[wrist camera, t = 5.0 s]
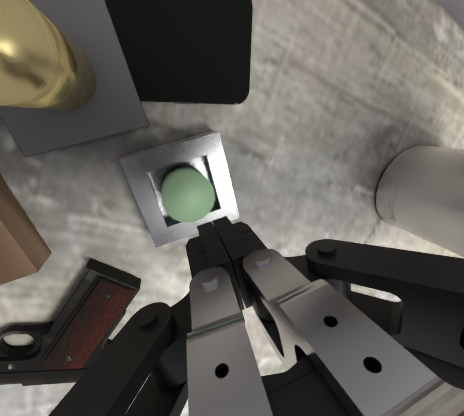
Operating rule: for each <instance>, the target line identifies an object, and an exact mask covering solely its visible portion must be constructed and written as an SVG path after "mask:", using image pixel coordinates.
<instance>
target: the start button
mask: <svg viewBox="0 0 464 416" xmlns="http://www.w3.org/2000/svg"><path fill="white" fill-rule="evenodd" d="M161 196H162V203H163V207H164V209H165V211H166V212H167V214H168V215H169V216H170V217H172V218H173V219H175V220H177V221H180V222H185V223H190V222H195V221H198V220H200V219H202V218H204V217H205V216H206V215H207V214H208V213H209V212H210V211H211V209H212V207H213V205H214V201H215V192H214V189H213V186H212V184H211V183H210V182H209V180H208V179H207V178H206V177H205V176H204V175H203V174H202V173H201V172H200V171H198V170H197V169H194V168H191V167H179V168H176V169H174V170H172V171H171V172H169V173H168V174H167V175H166V176H165V178H164V180H163V182H162V185H161Z"/></svg>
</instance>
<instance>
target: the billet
mask: <svg viewBox="0 0 464 416" xmlns="http://www.w3.org/2000/svg"><path fill="white" fill-rule="evenodd" d="M95 90H96V75H95V71H94V68H93V66H92V64H91V62H90V61H89V59H88V58H87V56H86V55H85V54H84V53H83V52H82V51H81V50H80V49H79V48H78V47H77V46H76V45H75V44H74V43H73V42H72V41H71V40H70V39H69V38H68V37H67V36H66V35H65V34H64V33H63V32H61V31H60V30H59V29H58V28H57V27H56V26H55V25H54V24H53V23H52V22H51V21H50V20H49V19H48V18H47V17H46V16H45V15H44V14H42V13H41V12H40V11H39V10H38V9H37V8H36V7H35V6H34V5H33V4H32V3H31V2H30V1H29V0H0V106H10V107H25V108H40V109H54V110H75V109H78V108H81V107H83V106H85V105H86V104H87V103H88V102H89V101H90V100H91V99H92V97H93V95H94V93H95Z"/></svg>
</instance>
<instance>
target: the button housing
mask: <svg viewBox="0 0 464 416" xmlns="http://www.w3.org/2000/svg"><path fill="white" fill-rule="evenodd" d="M119 162H120V164H121V166H122V169H123V171H124V173H125V176H126V178H127V180H128V183H129V185H130V187H131V190H132V192H133V194H134V197H135V199H136V201H137V204H138V206H139V208H140V211H141V213H142V215H143V218H144V220H145V222H146V225H147V227H148V229H149V232H150V234H151V236H152V239H153V241H154V243H155V246H156V247H158V246H161V245H164V244H167V243H170V242H172V241H175V240H178V239H181V238H184V237H186V236H189V235H192V234H195V233H198V229H197V226H198V225H201V224H204V223H207V222H210V221H211V222H212V221H213V220H216V219H219V218H221V217H224V216H227V217H228V219H229V220H230V221H231V220H234V219H237V218H240V217H239V213H238V209H237V204H236V200H235V196H234V192H233V188H232V183H231V179H230V175H229V171H228V167H227V162H226V158H225V154H224V150H223V146H222V142H221V137H220V133H219V132H217V131H209V132H205V133H202V134H198V135H194V136H191V137H187V138H183V139H180V140H176V141H172V142H169V143H165V144H161V145H158V146H154V147H150V148H147V149H143V150H140V151H136V152H132V153H129V154H125V155H122V156H121V157H120V159H119ZM179 167H191V168H194V169H197V170H198V171H200V172H201V173H202V174H203V175H204V176H205V177H206V178H207V179H208V180H209V182H210V183H211V184H212V186H213V189H214V192H215V201H214V205H213V207H212V209H211V211H210V212H209V213H208V214H207V215H206V216H205V217H204V218H202V219H200V220H198V221H195V222H190V223H185V222H180V221H177V220H175V219H173V218H172V217H170V216H169V215H168V214H167V212H166V211H165V209H164V207H163V203H162V196H161V185H162V182H163V180H164V178H165V176H166V175H167V174H168V173H169V172H171V171H172V170H174V169H176V168H179ZM212 224H213V223H212Z"/></svg>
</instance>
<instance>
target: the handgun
mask: <svg viewBox="0 0 464 416" xmlns="http://www.w3.org/2000/svg"><path fill="white" fill-rule="evenodd" d="M86 267H87V268H89V271H88V272H87V274H86V275H85V277H84V278H83V280H82V281H81V283H80V284H79V286H78V287H77V289H76V290H75V292H74V293H73V294H72V296H71V297H70V299H69V300H68V302H67V303H66V305H65V306H64V308H63V309H62V311H61V312H60V314H59V315H58V317H57V318H56V320H55V321H50V322H49V324H48V325H14V326H11V327H8V328H6V329H5V330H3V331H2V332H1V334H0V385H5V384H20V383H21V384H22V386H28V385H42V384H58V383H72V382H77V381H78V380H79V379H80V378H81V376H82V375H83V374H84V373H85V372H86V371H87V369H88V368H89V367H90V366H91V365H92V363H93V362H94V361H95V360H96V359H97V358H98V356H99V355H100V354H101V353H102V352H103V350H104V349H105V348H106V347H107V346H108V344H109V342H108V341H107V339H108V338H109V336H110V335H111V333H112V332H113V331H114V329H115V328H116V326H117V325H118V323H119V322H120V321H121V319H122V318H123V316H124V315H125V312H126V308H127V307H128V305H129V304H130V302H131V301H132V300H133V298H134V297H135V295H136V294H137V292H138V291H139V290H140V284H141V279H139V278H137V277H135V276H133V275H131V274H128V273H126V272H124V271H121V270H119V269H117V268H114V267H112V266H109V265H107V264H104V263H102V262H99V261H97V260H94V259H92V258H90V260H89V262H88V264H87V265H86ZM11 334H28V335H30V336H31V337H33V338H34V340H35V345H25V346H6V345H5V343H4V342H3V338H4V337H5V336H8V335H11Z"/></svg>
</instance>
